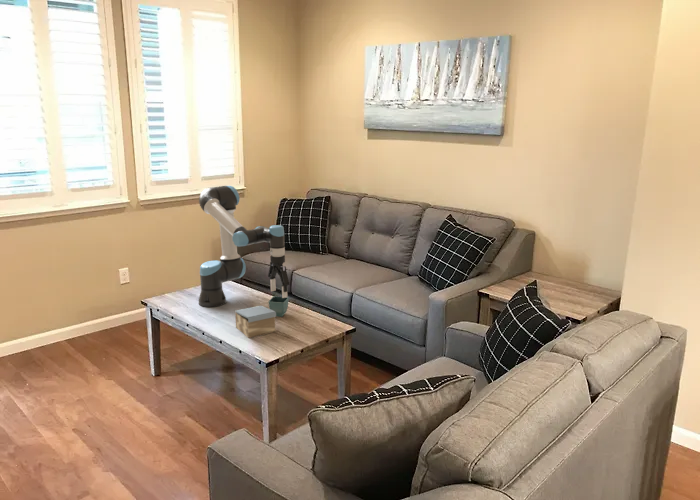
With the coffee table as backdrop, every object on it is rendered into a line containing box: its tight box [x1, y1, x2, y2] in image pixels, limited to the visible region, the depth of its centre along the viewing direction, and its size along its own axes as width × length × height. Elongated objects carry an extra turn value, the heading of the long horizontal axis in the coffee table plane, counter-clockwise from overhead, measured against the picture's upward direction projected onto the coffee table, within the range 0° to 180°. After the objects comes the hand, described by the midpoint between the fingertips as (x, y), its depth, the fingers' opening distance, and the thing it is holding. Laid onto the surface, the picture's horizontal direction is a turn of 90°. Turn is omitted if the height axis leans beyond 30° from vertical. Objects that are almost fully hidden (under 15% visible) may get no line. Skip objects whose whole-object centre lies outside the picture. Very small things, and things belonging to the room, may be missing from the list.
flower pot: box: [268, 295, 290, 318], centre depth 299 cm, size 9×9×9 cm
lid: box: [234, 305, 277, 322], centre depth 278 cm, size 17×14×2 cm
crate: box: [234, 312, 276, 339], centre depth 279 cm, size 16×14×8 cm
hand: (278, 294), depth 297 cm, fingers open, 13 cm apart
